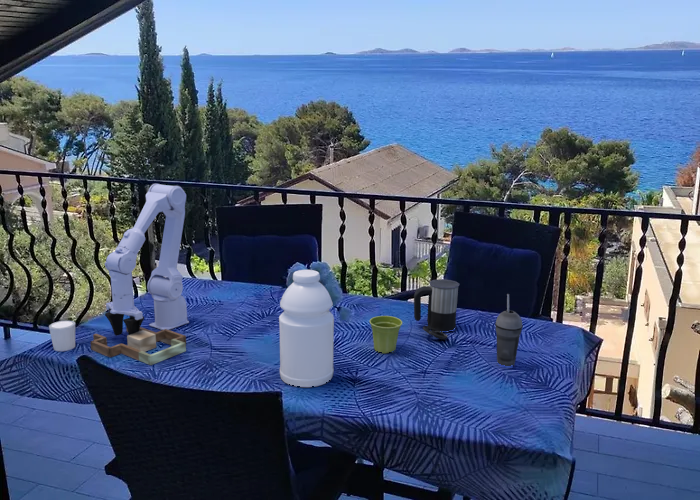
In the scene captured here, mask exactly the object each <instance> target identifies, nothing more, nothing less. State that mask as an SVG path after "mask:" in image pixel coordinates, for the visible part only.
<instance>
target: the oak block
mask: <svg viewBox="0 0 700 500" xmlns="http://www.w3.org/2000/svg"><path fill="white" fill-rule="evenodd" d="M126 339H127V340H126V342H127V346H130V347H133V348H135V349H138V350H140V351H143V352H146V353H147V352H148V351H150V350H151V351H152V350H154V349H157V342H156V335H155V334H153V333H150V332H148V331H145V330H142V331H139V332H136V333H133V334H130V335H126Z"/></svg>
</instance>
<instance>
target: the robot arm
mask: <svg viewBox="0 0 700 500" xmlns="http://www.w3.org/2000/svg"><path fill="white" fill-rule="evenodd" d="M186 201H187V194H186V192H185V191H184V189H183V188H182V187H181V186H180V185H168V184H167V185H166V184H160V183H152V184H151V185H150V187H149V188H148V191H147V192H146V194H145V203H144V205H143V208H142V209H141V211H140V213H139V215H138V217H137V220H136V221H135V224H134V226H133V227H132V228H128V229H127V230H126V231H124V233H123V235H122V236H123V237H121V240H120V242H119V243H118V245H117V246H116V247H115V250H114V251H112V252H110V253H109V254H108V255H107V257H106V259H105V262H104V266H105V269H106V270H107V271H108V275H109V277H110V284H111V297H112V301H110V302H107V303H106V302H105V306H106V307H105V308H106V310H107V311H108V312H105V313H104V315H105V317H106V318H107V320H108V322H109V323H110V325H111V328H112V330H113V333H114V336H116V337H117V336H120V335H122V334H123V331H124V324H125V328H126V327H127V330H128V332H127V334H128V335H130V334H133V333H136V332H139V329H140V327H142V326H141V325H142V323H143V322H144V320H145V316H143V311H140V310H139V309H138V307H136V306H135V300H134V299H135V298H134V287H133V271H134V269H135V268H136V265H137V257H138V253H139V251H140V250H141V248H142V246H143V245H144V243H145V241H146V237H145V233H146V232H147V230H148V229H149V228H150V225H152V223H153V221H154V220H155V219H156V217H157V215H159V213H163V214H164V216H165V221H164V222H165V223H164V228H163V235H162V242H161V247H160V253H159V261H158V266H157V267H155V268H154V269H153V270H152V271H151V274H150V277H149V280H148V281H147V284H146V287H147V288H146V289H147V291H148V293H149V294H150V295H151V298H152V299H153V307H154V309H153V311H154V322H151V323H149V324H148V325H149V327H153V328H156V329H159V330H160V331H162V330H164V329H167V330H170V331H171V330H173V329H174V328H178V327H180V326H183V325H187V324H189V323H190V321H189V320H188V311H187V309H188V308H187V307H188V306H187V301H186V299H185V297H184V296H183V295H182V294H183V288H184V287H183V286H184V285H183V275H182V274H181V272H180V271H179V270H178V269H177V268H178V261H179V255H180V249H181V244H182V243H181V242H182V235H183V230H184V222H185V218H186V209H185V208H186V207H185V206H186ZM124 316H128V317H127V318H125V317H124ZM124 318H125V319H124ZM128 335H127V336H128Z"/></svg>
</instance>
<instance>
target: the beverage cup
mask: <svg viewBox="0 0 700 500" xmlns="http://www.w3.org/2000/svg"><path fill="white" fill-rule="evenodd" d="M506 296H507V297H506V308H507V309H506V310H504V311H502V312H500V313H499V314H498V316H497V318H496V320H495V323H494V326H495V333H496V361H497V362H498V363H499V364H501V365H505V366H511V365H514V366H515V363H516V360H517V353H518V347H519V343H520V337H521V334H522V330H523V327H524V326H523V320H522V318H521V316H520V315H519V314H518V313H517V312H516V311H514V310H510V294H509V293H507V294H506ZM497 362H496V363H497Z"/></svg>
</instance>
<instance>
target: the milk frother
mask: <svg viewBox="0 0 700 500" xmlns="http://www.w3.org/2000/svg"><path fill="white" fill-rule="evenodd" d="M459 286H460V283H459V282H457V281H456V280H451V279H445V278H444V279H442V278H441V279H440V278H439V279H433V280H431V281H429V286H428V285H427V286H426V285H425V286H424V285H423V286H421V287H418V288H417V289H416V290H415V292H414V295H413V316H414V320H415V321H417V322H419V321H420V320H422V319H421V318H422V317H421V316H422V315H421V314H422V311H421V310H422V307H421V306H422V303H421V301H422V296H423V295H428V301H427V303H428V304H427V318H426V322H427V324H428V326H427V325H426V326H425V325H424V326H423V327H422V330H423V331H425V332H426V333H427V334H429V335H431V336H432V337H434V338H435V339H437V340H439V339H441V340H447V339H448V334H446V333H443V332H442V331H449V330H453V329H454V328H455V327H456V328H457V326H456V325H457V320H456V319H457V304H458V295H459V294H458V293H459V292H458V291H459ZM440 331H441V332H440Z"/></svg>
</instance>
